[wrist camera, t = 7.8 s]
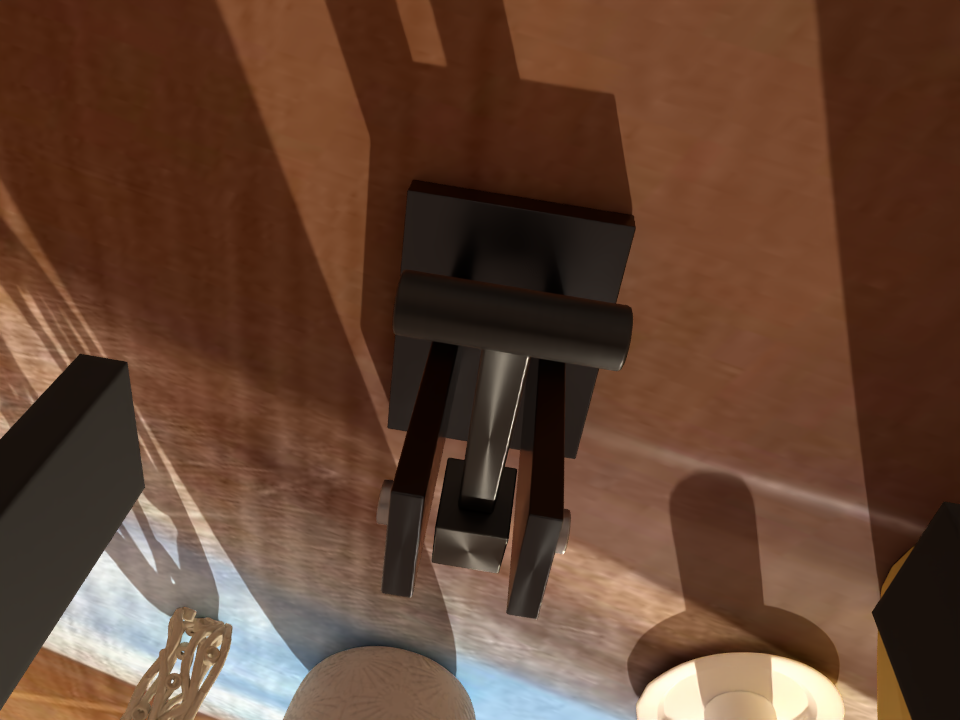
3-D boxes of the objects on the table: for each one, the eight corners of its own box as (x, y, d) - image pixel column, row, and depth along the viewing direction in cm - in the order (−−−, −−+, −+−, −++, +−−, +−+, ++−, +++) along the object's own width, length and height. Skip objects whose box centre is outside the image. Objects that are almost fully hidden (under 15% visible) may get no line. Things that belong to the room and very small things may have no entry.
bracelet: (159, 650, 51) (97, 771, 45) (186, 576, 47) (123, 699, 40) (218, 671, 52) (166, 794, 45) (250, 600, 48) (198, 725, 41)
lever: (409, 239, 18) (387, 323, 16) (635, 276, 17) (632, 363, 16) (402, 490, 27) (388, 555, 26) (547, 513, 27) (541, 581, 26)
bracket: (412, 179, 32) (323, 372, 21) (634, 214, 32) (668, 428, 21) (391, 413, 39) (316, 657, 27) (575, 443, 39) (576, 700, 27)
